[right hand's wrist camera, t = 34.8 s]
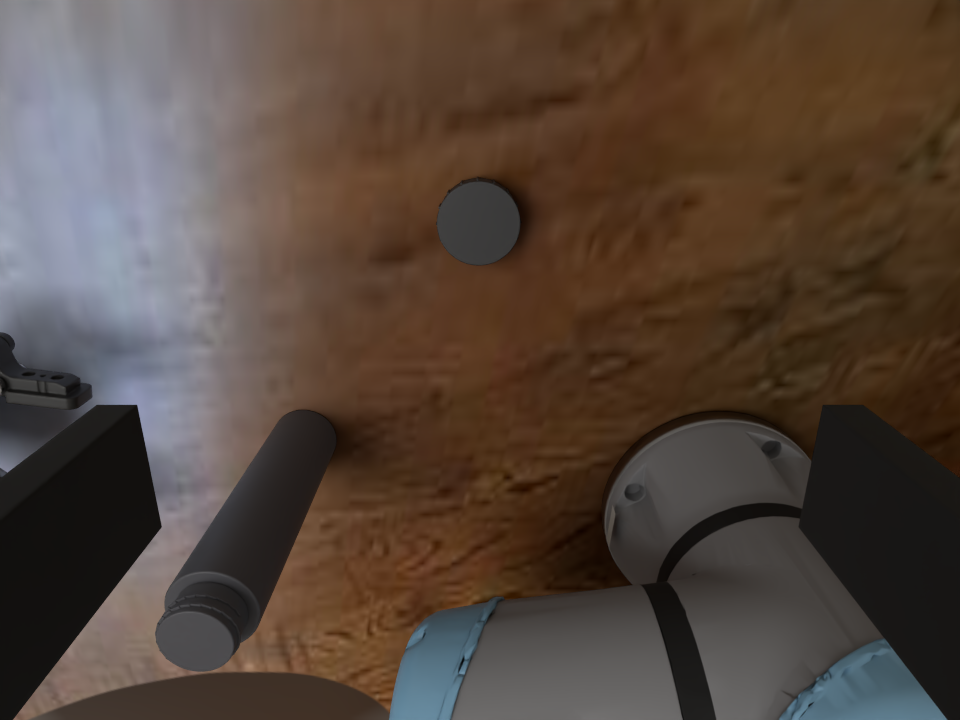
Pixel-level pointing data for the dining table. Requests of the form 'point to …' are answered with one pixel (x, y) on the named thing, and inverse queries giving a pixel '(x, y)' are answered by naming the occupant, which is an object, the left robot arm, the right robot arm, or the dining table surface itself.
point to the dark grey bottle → (245, 547)
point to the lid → (478, 221)
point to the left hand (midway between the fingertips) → (90, 461)
